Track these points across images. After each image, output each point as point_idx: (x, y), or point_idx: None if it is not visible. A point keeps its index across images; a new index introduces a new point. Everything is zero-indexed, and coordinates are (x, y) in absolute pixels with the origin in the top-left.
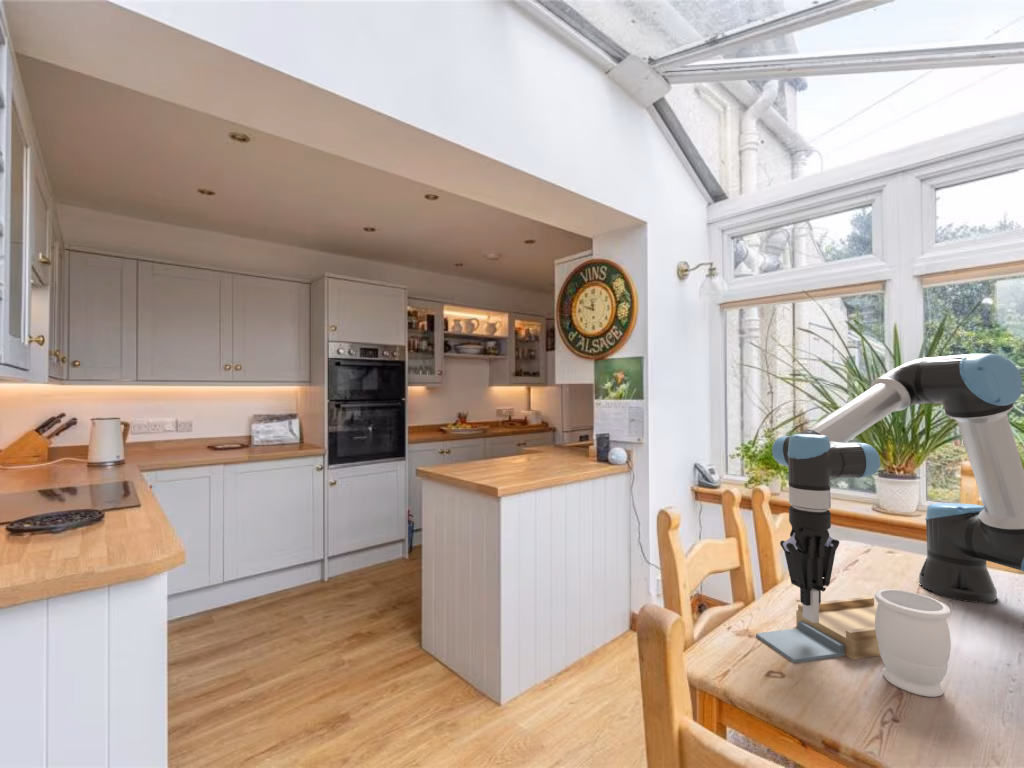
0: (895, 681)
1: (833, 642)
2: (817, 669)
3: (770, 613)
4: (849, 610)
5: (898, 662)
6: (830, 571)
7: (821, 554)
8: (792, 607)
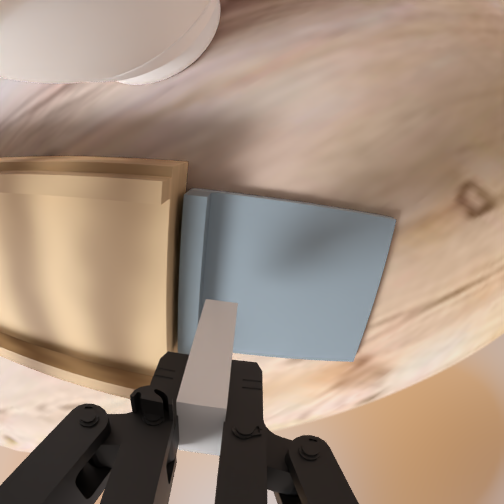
0: (215, 13)
1: (205, 223)
2: (360, 163)
3: None
4: (17, 325)
5: None
6: (30, 469)
7: None
8: (113, 412)
